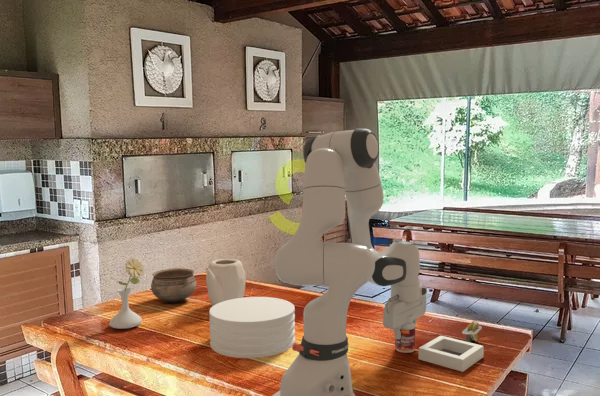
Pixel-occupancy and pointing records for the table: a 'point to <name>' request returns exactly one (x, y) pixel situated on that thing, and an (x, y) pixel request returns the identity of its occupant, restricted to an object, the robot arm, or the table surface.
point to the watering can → (225, 280)
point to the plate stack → (252, 327)
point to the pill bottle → (406, 337)
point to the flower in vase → (127, 316)
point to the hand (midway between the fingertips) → (404, 335)
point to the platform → (472, 331)
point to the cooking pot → (173, 284)
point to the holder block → (451, 353)
